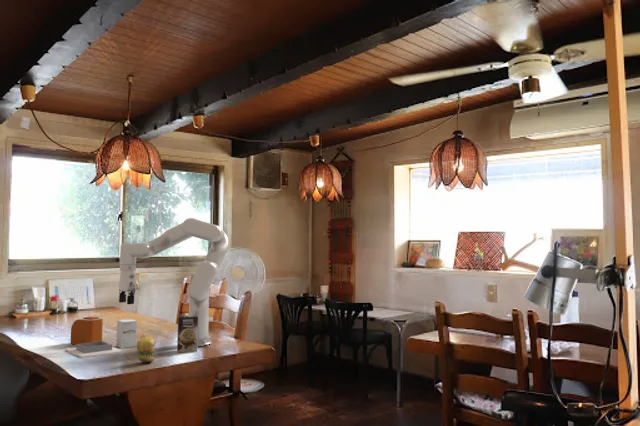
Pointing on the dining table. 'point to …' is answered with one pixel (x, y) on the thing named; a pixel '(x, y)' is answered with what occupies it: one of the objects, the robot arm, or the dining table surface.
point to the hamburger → (145, 349)
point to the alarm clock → (86, 330)
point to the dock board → (93, 349)
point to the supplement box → (126, 333)
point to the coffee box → (187, 333)
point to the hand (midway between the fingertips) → (126, 303)
